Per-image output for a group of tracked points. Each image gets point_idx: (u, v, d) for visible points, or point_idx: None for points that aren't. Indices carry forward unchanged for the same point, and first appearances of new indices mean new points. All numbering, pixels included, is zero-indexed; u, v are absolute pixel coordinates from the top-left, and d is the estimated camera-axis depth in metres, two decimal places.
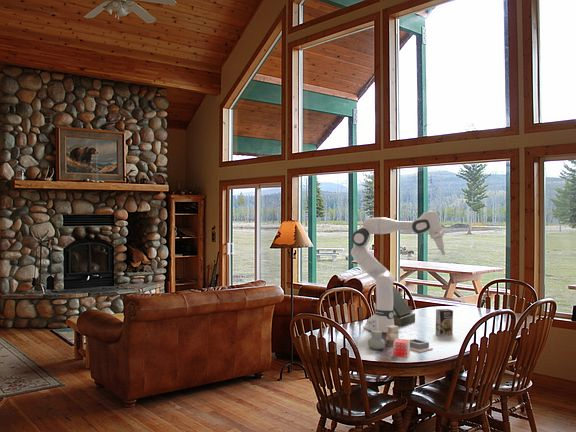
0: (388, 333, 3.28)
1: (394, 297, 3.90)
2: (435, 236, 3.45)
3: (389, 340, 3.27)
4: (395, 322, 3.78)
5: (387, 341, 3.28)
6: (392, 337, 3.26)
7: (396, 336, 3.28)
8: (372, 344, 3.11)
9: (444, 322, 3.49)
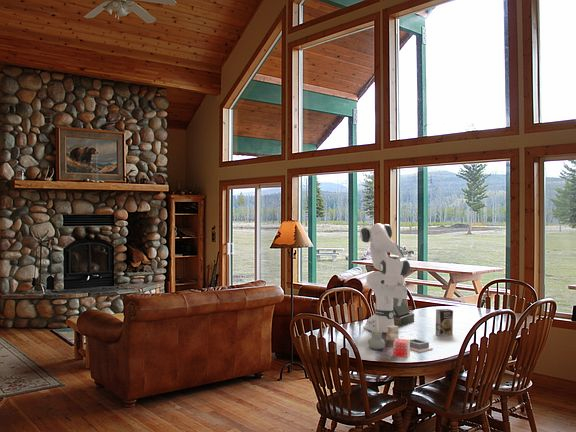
0: (388, 333, 3.28)
1: None
2: None
3: (389, 340, 3.27)
4: (395, 322, 3.78)
5: (387, 341, 3.28)
6: (392, 337, 3.26)
7: (396, 336, 3.28)
8: (372, 344, 3.11)
9: (444, 322, 3.49)
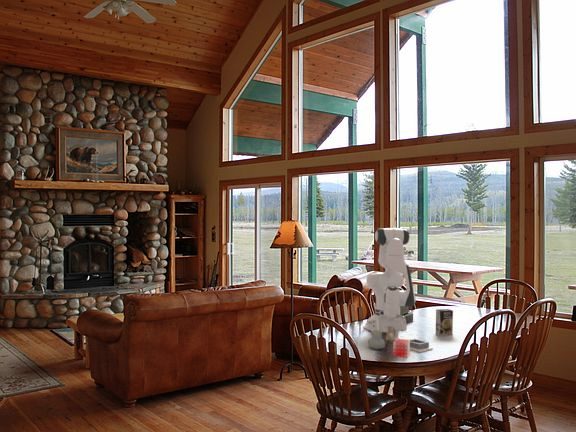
0: (388, 333, 3.28)
1: None
2: None
3: (389, 340, 3.27)
4: None
5: (387, 341, 3.28)
6: (392, 337, 3.26)
7: None
8: (372, 344, 3.11)
9: (444, 322, 3.49)
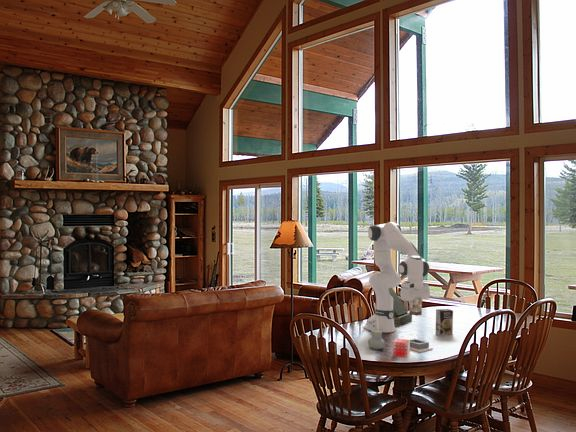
0: (418, 305, 3.14)
1: None
2: (403, 285, 3.14)
3: (419, 311, 3.15)
4: None
5: (417, 313, 3.14)
6: None
7: None
8: (372, 344, 3.11)
9: (444, 322, 3.49)
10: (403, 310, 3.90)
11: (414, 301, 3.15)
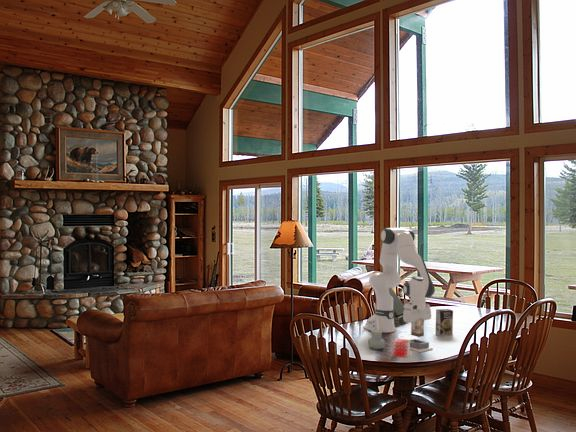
0: (421, 326, 3.14)
1: None
2: (405, 307, 3.13)
3: (422, 333, 3.15)
4: None
5: (420, 335, 3.14)
6: None
7: None
8: (372, 344, 3.11)
9: (444, 322, 3.49)
10: (402, 310, 3.90)
11: (416, 322, 3.15)
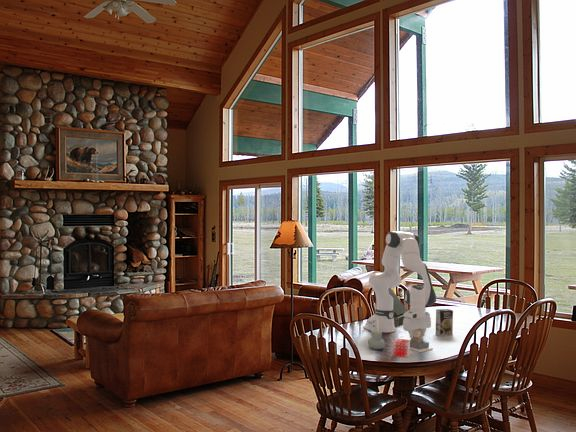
0: (420, 337, 3.14)
1: None
2: (405, 315, 3.13)
3: None
4: None
5: None
6: None
7: None
8: (372, 344, 3.11)
9: (444, 322, 3.49)
10: (402, 310, 3.90)
11: (416, 333, 3.15)
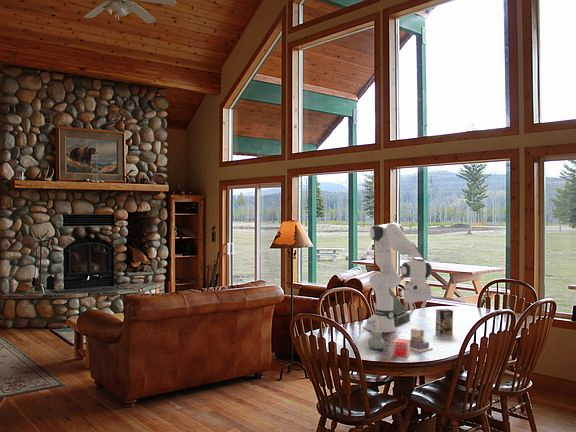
0: (420, 337, 3.14)
1: None
2: (406, 287, 3.12)
3: None
4: None
5: None
6: None
7: None
8: (372, 344, 3.11)
9: (444, 322, 3.49)
10: (401, 310, 3.91)
11: (416, 333, 3.15)
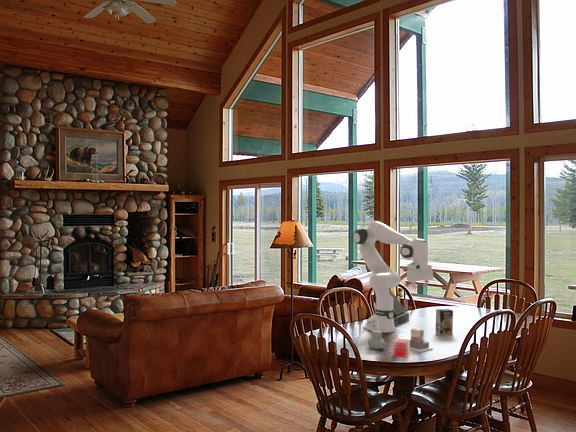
0: (420, 337, 3.14)
1: None
2: (409, 267, 3.28)
3: None
4: None
5: None
6: None
7: None
8: (372, 344, 3.11)
9: (444, 322, 3.49)
10: (400, 310, 3.91)
11: (416, 333, 3.15)
